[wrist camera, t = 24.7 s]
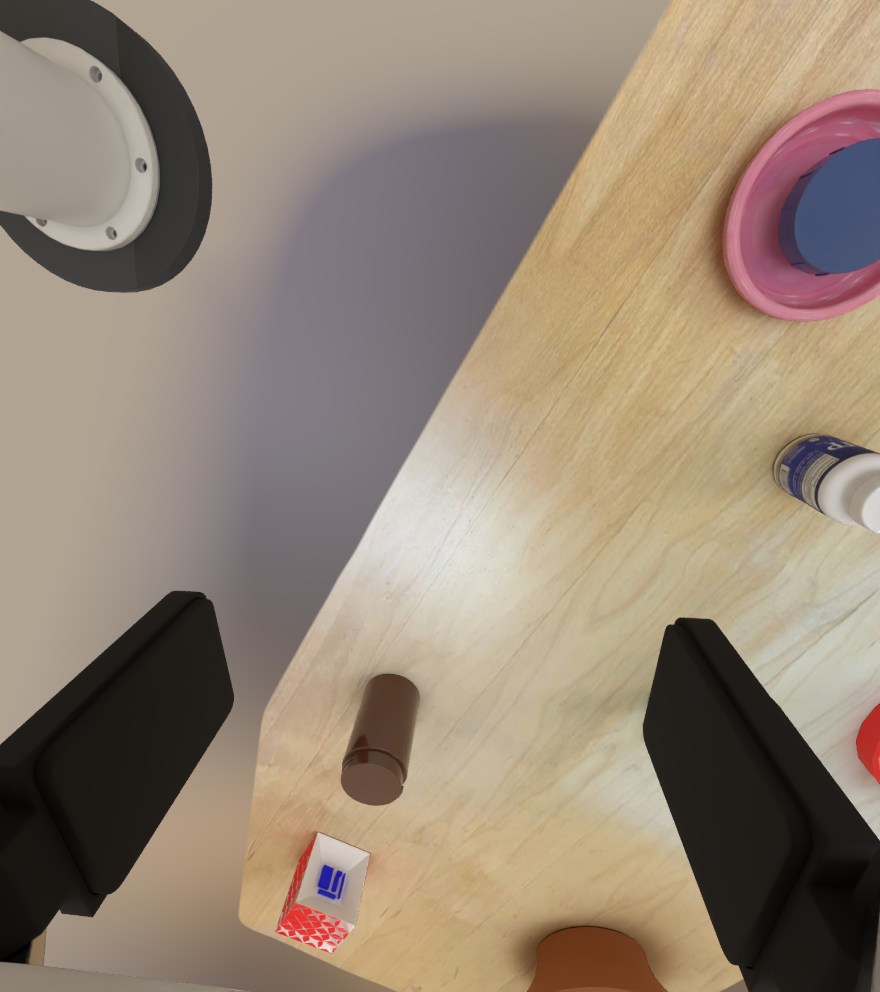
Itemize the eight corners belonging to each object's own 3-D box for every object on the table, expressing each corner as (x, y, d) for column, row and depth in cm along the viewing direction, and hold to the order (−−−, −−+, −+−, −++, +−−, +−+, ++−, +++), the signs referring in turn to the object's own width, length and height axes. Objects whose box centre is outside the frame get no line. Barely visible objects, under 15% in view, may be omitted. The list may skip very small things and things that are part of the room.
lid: (910, 135, 26) (937, 123, 25) (888, 263, 29) (912, 261, 27) (783, 162, 27) (801, 153, 26) (772, 284, 30) (788, 283, 28)
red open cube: (298, 861, 64) (274, 931, 57) (317, 831, 61) (295, 902, 54) (349, 881, 65) (332, 953, 58) (371, 853, 62) (356, 926, 55)
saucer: (765, 84, 28) (797, 58, 25) (953, 139, 28) (1006, 119, 26) (675, 294, 33) (694, 293, 30) (836, 340, 33) (870, 343, 30)
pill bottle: (856, 443, 36) (966, 482, 28) (817, 501, 38) (909, 553, 30) (793, 424, 36) (885, 457, 28) (758, 483, 38) (834, 531, 30)
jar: (362, 709, 52) (334, 800, 42) (368, 668, 49) (340, 755, 40) (415, 720, 52) (399, 813, 42) (423, 680, 49) (409, 769, 40)
